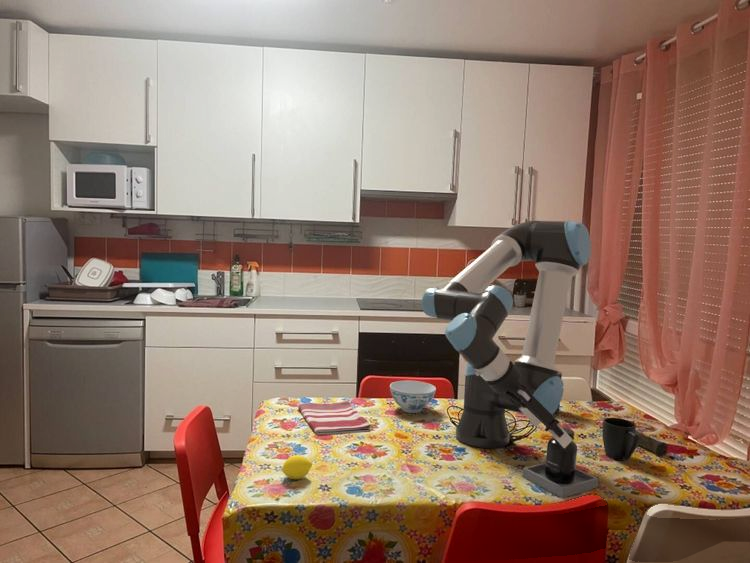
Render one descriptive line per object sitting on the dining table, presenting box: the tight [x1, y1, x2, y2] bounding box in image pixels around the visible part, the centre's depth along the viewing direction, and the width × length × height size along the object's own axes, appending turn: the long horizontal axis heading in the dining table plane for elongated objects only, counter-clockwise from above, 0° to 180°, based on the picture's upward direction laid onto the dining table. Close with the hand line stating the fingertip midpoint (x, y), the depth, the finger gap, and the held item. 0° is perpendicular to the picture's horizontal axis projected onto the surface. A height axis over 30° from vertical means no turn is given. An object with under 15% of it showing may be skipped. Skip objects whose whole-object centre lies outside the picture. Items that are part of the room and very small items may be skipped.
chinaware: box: [389, 380, 437, 414], centre depth 187 cm, size 15×15×8 cm
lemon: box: [281, 454, 313, 480], centre depth 132 cm, size 7×5×5 cm
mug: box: [601, 417, 639, 461], centre depth 153 cm, size 8×12×10 cm
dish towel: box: [297, 400, 371, 436], centre depth 174 cm, size 17×23×3 cm
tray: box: [521, 462, 599, 498], centre depth 137 cm, size 12×12×2 cm
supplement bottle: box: [545, 426, 578, 484], centre depth 136 cm, size 7×7×12 cm
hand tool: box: [636, 430, 669, 457], centre depth 166 cm, size 19×4×5 cm, turn 18°
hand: (552, 432), depth 135 cm, fingers open, 13 cm apart
